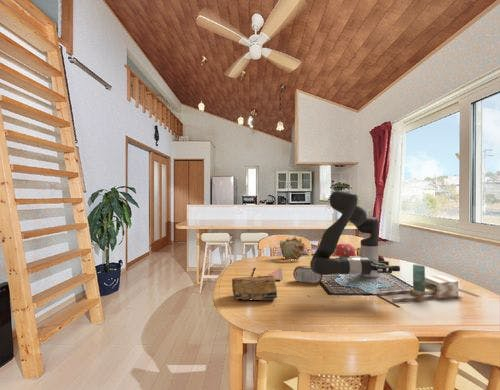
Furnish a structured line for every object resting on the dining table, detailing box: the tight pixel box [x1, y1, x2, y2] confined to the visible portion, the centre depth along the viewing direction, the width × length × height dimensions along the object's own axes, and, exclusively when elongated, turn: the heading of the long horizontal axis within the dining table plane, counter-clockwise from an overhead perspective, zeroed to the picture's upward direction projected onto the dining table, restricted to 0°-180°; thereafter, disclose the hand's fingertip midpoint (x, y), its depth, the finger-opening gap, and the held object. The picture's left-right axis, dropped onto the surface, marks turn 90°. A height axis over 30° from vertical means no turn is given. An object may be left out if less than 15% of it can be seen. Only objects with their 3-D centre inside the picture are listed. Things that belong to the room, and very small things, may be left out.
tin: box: [293, 265, 324, 285], centre depth 139 cm, size 15×3×8 cm, turn 71°
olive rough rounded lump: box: [279, 236, 307, 261], centre depth 191 cm, size 18×18×15 cm
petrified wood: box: [231, 276, 278, 301], centre depth 119 cm, size 19×13×10 cm
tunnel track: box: [376, 274, 482, 309], centre depth 117 cm, size 42×13×8 cm, turn 101°
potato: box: [378, 254, 386, 261], centre depth 178 cm, size 7×8×6 cm
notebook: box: [268, 266, 283, 281], centre depth 156 cm, size 27×17×2 cm, turn 174°
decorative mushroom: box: [333, 242, 356, 258], centre depth 174 cm, size 13×13×15 cm
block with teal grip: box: [409, 263, 437, 296], centre depth 118 cm, size 16×5×13 cm, turn 101°
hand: (393, 266), depth 116 cm, fingers open, 8 cm apart
